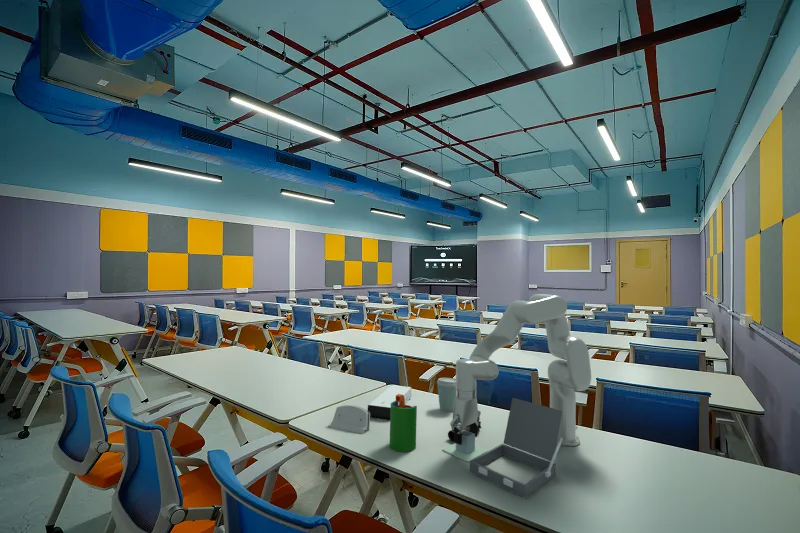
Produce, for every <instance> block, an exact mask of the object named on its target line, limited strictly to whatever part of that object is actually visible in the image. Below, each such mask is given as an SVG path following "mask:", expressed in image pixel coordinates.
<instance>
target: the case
mask: <svg viewBox="0 0 800 533" xmlns="http://www.w3.org/2000/svg"><path fill="white" fill-rule="evenodd" d="M562 440H563V438H560V440H559V443H558V445H557V448H556V450H555V453H554V455H553V458H552V460H551V461H549V460H546V459H544V458H541V457H538V456H536V455H533V454H530V453H528V452H525V451H522V450H520V449H517V448H514V447H512V446H509V445H506V444H504V443H500V444H499V445H497V446H495V447H493V448H491V449H489V450H487V452H486V453H484V454H482V455H480V456H478V457H476V458H475V459H473V460H471V461H470V462H469V473H470V474H473V475H475V476H477V477H480V478H481V479H483V480H485V481H488V482H489V483H492V484H493V485H496V486H498V487H500V488H502V489H503V490H507V491H508V492H511V493H513V494H515V495H517V496H519V497H520V498H523V499H528V497H530V496H531V495H533V493H535V492H536V491H537V490H539V489H540V488H541V487H542V486H544V485H546V483H547V482H549V481H550V480H551V479H552V478H553V477H555V476H556V474H557V472H556V471H557V470H556V469H557V468H556V467H557V466H556V465H557V464H556V463H554V460H555V461H556V458H557V455H558V453H559V450H560V447H561V446H562V445H561V442H562ZM501 456H505V457H507V458H510V459H512V460H515V461H517V462H519V463H522V464H525V465H527V466H530V467H532V468H534V469H536V470H537V469H538V470H540V471H541V472H539V473H538V474H536V475H535V476H534V477H533V478H531V479H529V481H527V482H525V484H524V483H522V482H521V481H518V480H516V479H513V478H511V477H509V476H507V475H505V474H502V473H500V472H498V471H495V470H493V469H491V468H488V467H486V465H488V464H489V463H491V462H493V461H495V460H496V459H498V458H500V457H501Z"/></svg>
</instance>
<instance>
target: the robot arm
mask: <svg viewBox="0 0 800 533" xmlns="http://www.w3.org/2000/svg"><path fill="white" fill-rule="evenodd" d="M567 310H568V304H567V301H566V299H565V298H564V297H562V296H560V295H557V294H555V295H554V294H548V293H547V294H545V293H535V294H533V295H531V296H530V297H529V299H528V300H527V301H526V300H513V301H511V302H510V303H509V304H508V307H507V308H506V309H505V311H504V313H503V315H502V316H501V318H500V319H499V320H498V323H497V324H496V325H495V327H494V329H493V330H492V331H491V332H490V333H489V334H488V335H486V336H485V337H484V338H483V339H482V340H480V342H478V344H476V346H475V348H474V349H473V350H472V352H471V354H470V355H469V358H461V359H458V360H456V363H455V380H456V398H455V400H454V406H453V411H452V420H451V421H450V423H449V425H450V428H451V429H450V430H453V432H454V442H453V444H455V443H456V444H459V445H462V434H461V431H462V429H463V427H466V426H468V425H470V432H471V433H474V434H475V438H477V437H478V436H479V431H478V425H479V423H478V422H479V421H480V420H481V418H480V417H481V413H482V412H481V411H480V410H479V408H478V407H479V406H478V400H477V381H479V380H480V381H492V380H495V379H496V378H498V375H499V372H500V369H499V366H498V365H497V363H496V362H495V361H493V360H491V359H490V358H491V356H492V355H493V354H494V353H495V352H496V351H498V350H499V349H502V348H504V347H507V346H510V345H512V344H513V343H514V342H515V341H516V339H517V337H518V335H519V334H520V332H521V330H522V329H523V327H524V325H531V326H532V325H538V324H542V323H543V324H544V327H545V331H546V338H547V347H548V351H549V353H550V354H551V356H553V357H555V358H558V359H555V360H551V362H550V363H549V364H548V367H547V378H548V383H549V408H553V409H556V410H560V411H563V414H562V420H561V427H560V433H559V439H558V443H559V440H560V438H563V440H562V442H561V445H560V446H564V447H575V446H578V445H580V443H581V440H580V438H579V436H577V435H576V431H577V429H578V426H577V425H576V423H577V422H576V415H577V414H576V413H577V412H576V411H577V407H576V406H577V405H576V402H577V401H576V400H577V399H576V398H577V397H576V392H575V391H577V392H583V391H586V390H588V389H589V388H590V386H591V382H592V369H591V361H590V354H589V349H588V346H587V344H586V342H584V341H583V339H582V338H581V339H580V338H579V337H576V336H572V335H571V334H570V329H569V322H568V319H567V317H566V314H565V313H567ZM458 427H460V428H459V430H458Z"/></svg>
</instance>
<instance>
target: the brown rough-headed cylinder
mask: <svg viewBox="0 0 800 533" xmlns="http://www.w3.org/2000/svg"><path fill="white" fill-rule="evenodd" d="M478 423H479V425H478V432H479V431H480V429H482V426H481V424H482V422H481V421H480V420H479V422H478ZM457 428H458V430H459V428H460V427H459V426H458V427H457ZM463 430H466V431H468V432H470V425H468V426H466V427H463V429H462V431H463ZM447 437H448V439H449V441H450V442H453V443H454V432H453V430H452V429H450V430H449V431H448V432H447Z"/></svg>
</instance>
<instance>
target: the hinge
mask: <svg viewBox="0 0 800 533" xmlns="http://www.w3.org/2000/svg"><path fill="white" fill-rule="evenodd" d="M370 424H371V418H370V412H368V409H365V408H363V407H360V406H358V405H350V404H345V405H340V406H338V407H336V409H335V413H334V415H333V418H332V421H331V422H330V425H329V426H330V427H331V429H335V428H336V430H340V429H341V431H345V430H346V432H350V431H351V432H350V433H355V432H356V434H360V433H361V435H364V434H365V431H370V426H371V425H370Z"/></svg>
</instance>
